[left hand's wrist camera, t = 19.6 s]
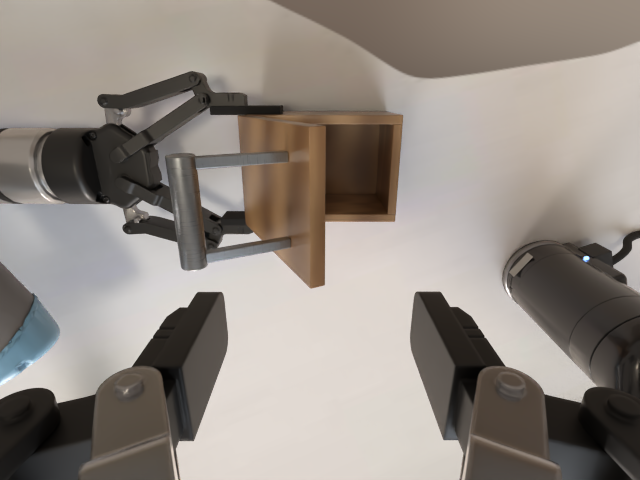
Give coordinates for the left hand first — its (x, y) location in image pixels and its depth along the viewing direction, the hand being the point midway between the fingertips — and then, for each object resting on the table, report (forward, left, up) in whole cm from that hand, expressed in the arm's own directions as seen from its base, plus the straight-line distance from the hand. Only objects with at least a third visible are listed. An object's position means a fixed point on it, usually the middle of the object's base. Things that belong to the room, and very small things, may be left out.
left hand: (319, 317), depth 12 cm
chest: (0, 0, -35) cm, 35 cm away
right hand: (+3, -1, -28) cm, 28 cm away
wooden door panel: (+3, -1, -18) cm, 19 cm away
